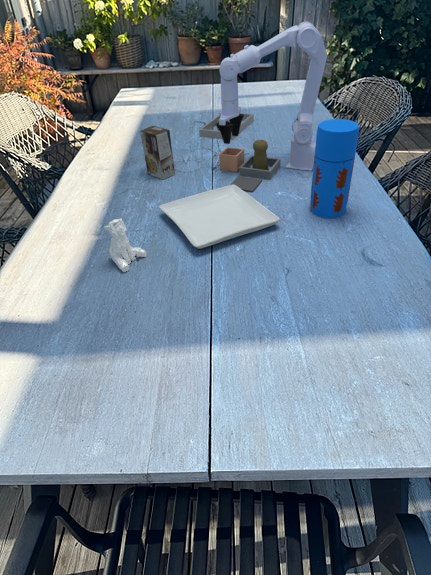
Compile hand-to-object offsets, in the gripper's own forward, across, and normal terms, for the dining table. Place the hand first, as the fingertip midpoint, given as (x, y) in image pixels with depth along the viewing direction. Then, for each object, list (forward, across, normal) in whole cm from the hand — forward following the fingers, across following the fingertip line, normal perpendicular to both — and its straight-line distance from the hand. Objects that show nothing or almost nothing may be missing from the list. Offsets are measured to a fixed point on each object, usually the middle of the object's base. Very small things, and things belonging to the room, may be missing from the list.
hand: (231, 139), depth 146 cm
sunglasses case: (+11, -39, -20) cm, 45 cm away
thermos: (+11, +20, +40) cm, 46 cm away
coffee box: (+11, +13, -23) cm, 28 cm away
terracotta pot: (+10, 0, 0) cm, 10 cm away
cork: (+11, 0, +11) cm, 15 cm away
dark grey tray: (+10, -39, -19) cm, 45 cm away
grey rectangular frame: (+10, 0, +11) cm, 15 cm away
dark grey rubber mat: (+10, +12, +10) cm, 19 cm away
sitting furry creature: (+11, +64, -4) cm, 65 cm away
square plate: (+11, +37, +11) cm, 40 cm away
